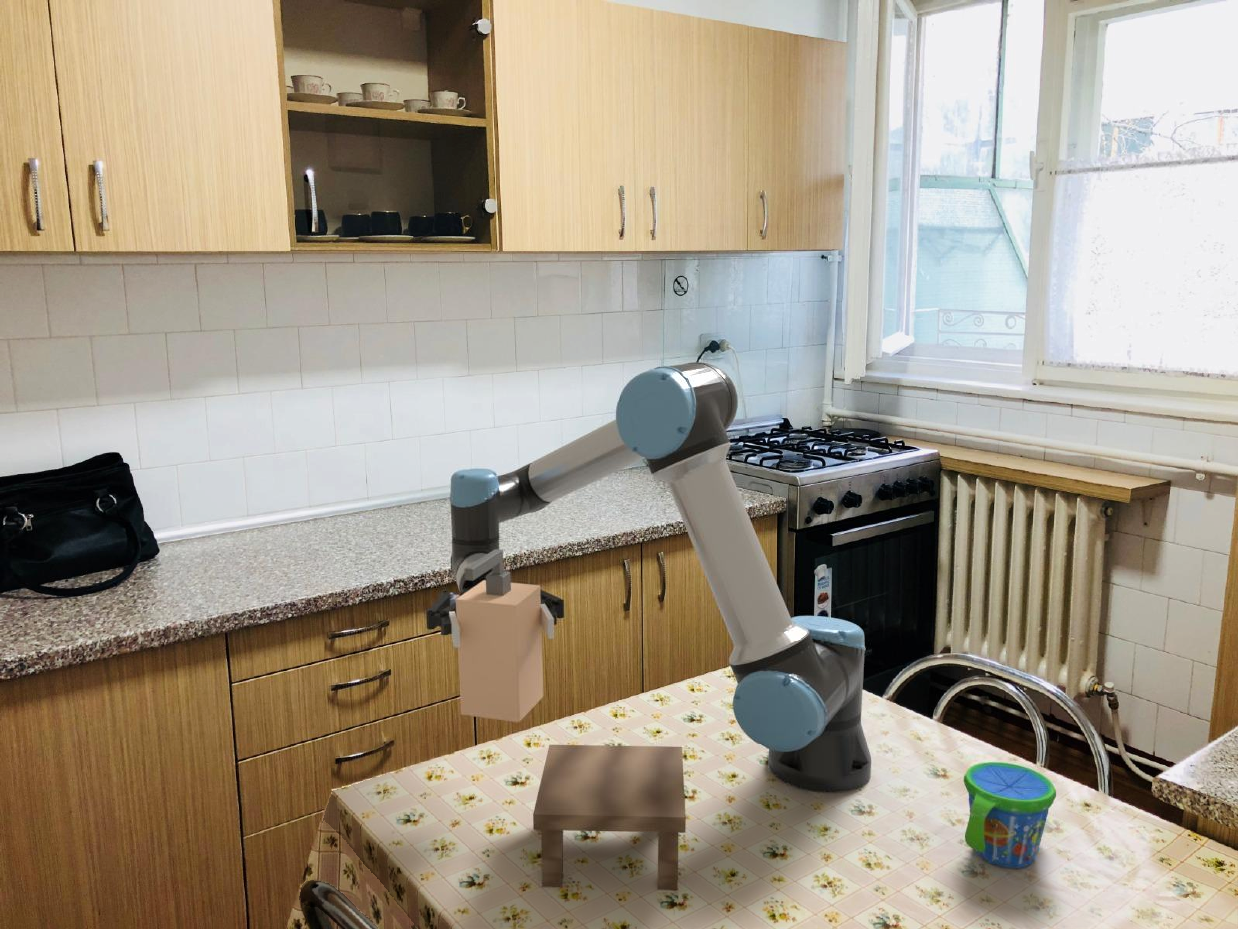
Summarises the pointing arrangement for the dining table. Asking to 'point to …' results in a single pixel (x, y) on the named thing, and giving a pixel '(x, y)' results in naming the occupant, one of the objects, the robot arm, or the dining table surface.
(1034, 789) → the snack cup
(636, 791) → the walnut stool
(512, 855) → the dining table surface
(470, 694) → the soap dispenser
